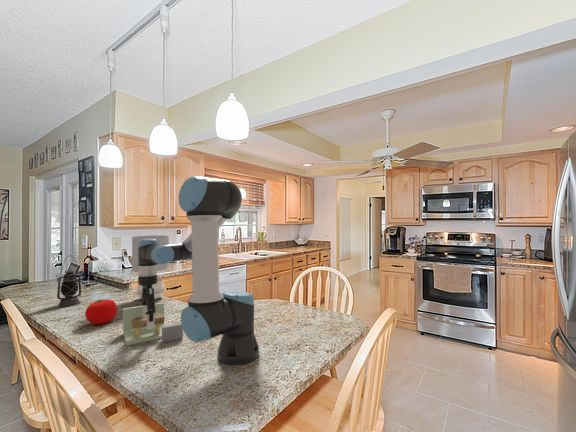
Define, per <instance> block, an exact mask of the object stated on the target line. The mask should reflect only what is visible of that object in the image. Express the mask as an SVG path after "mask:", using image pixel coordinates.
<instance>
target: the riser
mask: <svg viewBox="0 0 576 432" xmlns="http://www.w3.org/2000/svg"><path fill="white" fill-rule="evenodd" d="M181 338H183V339H184V330H183V328H182V324H181V322H178V323H173V324H168V325H165V326H162V338H161V342H162V344H164V342H165V343H169V341H170V342H173V340H174V341H178V340H177V339H179V340H182V339H181Z"/></svg>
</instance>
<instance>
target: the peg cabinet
mask: <svg viewBox="0 0 576 432" xmlns="http://www.w3.org/2000/svg"><path fill="white" fill-rule="evenodd" d="M142 306H143V305H138V306H137V305H136V306H132V307H131V306H130V307H126V308H122V334H123V335H122V336H123V338H124V341H125V346H132V345H136V344H140V343H145V342H149V341H155V340H160V339H162V326H166V325H165V322H164V323H158V324H154V329H150V330H147V326H143V327H137V328H133V326H132V318H136V317H141V316H142ZM155 310H156V312H155V313H154V314H159V313H162V314H163V316H164V317H165V303H164V302H157V303H155ZM159 338H160V339H159Z"/></svg>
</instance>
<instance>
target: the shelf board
mask: <svg viewBox="0 0 576 432" xmlns="http://www.w3.org/2000/svg"><path fill="white" fill-rule="evenodd" d="M158 323H164V324H165V315H164V316H163V314H162V313H159V314H154V324H158ZM132 326H133V328H137V327H143V326H147V316H141V317H136V318H132Z"/></svg>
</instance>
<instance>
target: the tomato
mask: <svg viewBox="0 0 576 432" xmlns="http://www.w3.org/2000/svg"><path fill="white" fill-rule="evenodd" d="M117 314H118V305H117V303H116V302H115V301H114V300H112V299H98V300H94V301H92V302H91V303H90V304H89V305H88V306H87V307H86V309H85V313H84V315H85V316H84V317H85V319H86V320H87V322H89V323H90V324H93V325H103V324H107V323H109V322H111V321H113V320H114V318H115V317H117Z"/></svg>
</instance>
